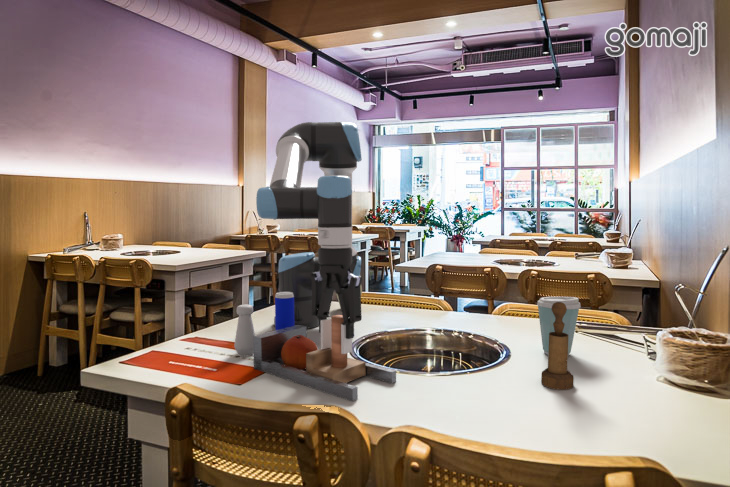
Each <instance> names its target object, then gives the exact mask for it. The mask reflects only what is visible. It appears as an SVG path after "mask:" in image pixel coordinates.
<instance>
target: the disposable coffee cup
mask: <svg viewBox="0 0 730 487" xmlns="http://www.w3.org/2000/svg"><path fill="white" fill-rule="evenodd" d="M556 302H562V303H564V304H565V305H566V308H567V311H566V313H565V315H564V316H563V319H562V321H563V323H564V324H565V325H564V329H563V332H562V333H566V334H568V357H569V356H570V354H571V352H572V348H573V342H574V336H575V332H576V331H575V330H576V326H577V321H578V315H579V311H580V309H581V307H582V306H581V302H579V297H576V296H544V297H543V296H542V297H540V298H539V300H537V304H536V305H537V308H538V309H537V310H538V317H539V326H540V334H541V335H540V336H541V344H542V350H543V353H544V354H545V355H547V356H548V353H549V333H550V332H555V330H554V326H553V323H554V322H555V316H554V314H553V312H552V305H553V304H554V303H556Z"/></svg>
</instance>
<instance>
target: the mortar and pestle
mask: <svg viewBox="0 0 730 487" xmlns="http://www.w3.org/2000/svg"><path fill="white" fill-rule="evenodd" d="M566 311H567V308H566V305H565V304H564V303H562V302H556V303H554V304H553V305H552V312H553V314H554V316H555V322H554V323H553V326H554V330H555V332H550V333H549V353H548V355H547V356H548V358H547V368H545V369H544V370H542V371H541V378H540V380H541V385H543V386H544V387H547V388H550V389H554V390H558V391H559V390H560V391H564V390H565V391H566V390H571V389H573V388H574V375H573V374H572V373H571V372H570V371H569V370H568V358H569V356H568V334H566V333H562V332H563V329H564V325H565V324H564V323H563V321H562V319H563V316H564V315H565V313H566Z"/></svg>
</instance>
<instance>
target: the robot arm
mask: <svg viewBox="0 0 730 487" xmlns="http://www.w3.org/2000/svg"><path fill="white" fill-rule="evenodd" d="M359 134H360V133H359V129H358V126H357V124H355V123H353V122H348V121H347V122H346V121H345V122H344V121H334V122H333V121H329V122H327V121H326V122H325V121H324V122H323V121H322V122H321V121H320V122H319V121H317V122H316V121H315V122H313V121H307V122H301V123H298V124H297V125H294V126H292V127H290V128H289V129H287V130H286V131H285V132H284V133H283V134H282V135H281V136H280V137H279V139H278V141H277V144H276V146H275V156H276V160H275V163H274V164H275V165H274V168H273V172H272V176H271V179H270V182H269V186H266V187H265V186H264V187H259V188H258V189H257V191H256V198H255V200H256V204H255V205H256V211H257V215H258V217H259V218H261V219H266V220H267V219H268V220H299V219H300V220H301V219H302V220H304V219H305V220H306V219H307V220H312V219H313V220H317V238H318V240H317V244H318V245H319V246H320V247H319V248H318V249H317V256H316V254H315V253H314V252H313V251H309V252H306V251H305V252H298V253H291V254H288V255H284V256H282V257H281V258H280V259H279V260H278V270H277V273H278V292H292V293H293V295H294V326H295V325H302V326H306V328H307V330H308V329H312V328H316V327H318V332H319V334H320V349H326V348H329V347H332V342H331V314H330V311H331V310H330V309H331V305H332V302H333V301H332V300H333V296H334V293H336V295H337V294H338V297H339V301H338V303H339V302H340V304H339V307H341V308H340V311H341V315H342V316H343V320H344V322H343V323H342V324H341V354H346V353H347V354H348V353H352V352H353V338H354V337H355V324H356V322H357V323H358V322H360V321H361V320H362V317H363V316H362V294H361V291H360V286H362V281H363V277H362V276H361V270H362V268H361V267H362V256H359V255H358V252H357V250H356V249H355V248H354V247H353V172H354V171H355V170H356V169H357V168H358V163H359V162H362V152H361V142H360V135H359ZM306 162H318V165H319V166H318V168H319V169H320V170H321V171H322V172H323V173H324V174H323V175H322V176H319V177H318V178H317V186H315V187H314V186H313V187H310V186H309V187H305V186H304V187H301V186H302V178H303V171H304V166H305V163H306ZM273 326H274V327H275V316H274V318H273Z"/></svg>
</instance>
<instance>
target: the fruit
mask: <svg viewBox="0 0 730 487" xmlns="http://www.w3.org/2000/svg"><path fill="white" fill-rule="evenodd" d="M316 350H319V349H318V346H317V344H316V342H314V341H313V340H312V339H310V338H309V337H304V336H302V335H297V336H294V337H292V338H291V339H289V340H288V341H286V342H285V344H284V345H283V347H282V351H281V357H282V360H283V362H284V365H286V366H290V367H293V368H296V369H300V370H303V371H305V370H306V353H309V352H312V351H316Z"/></svg>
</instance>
